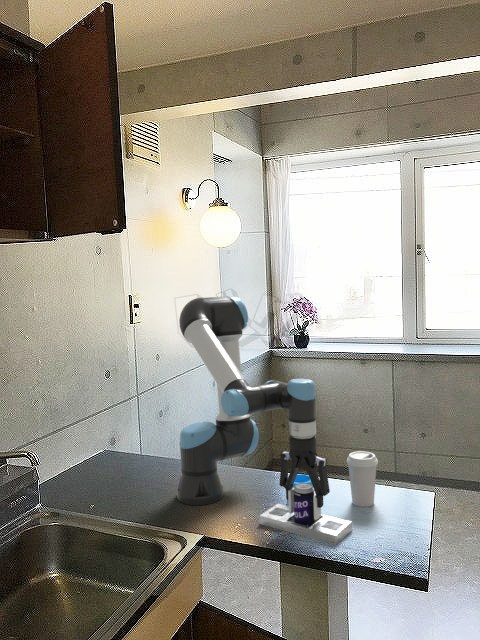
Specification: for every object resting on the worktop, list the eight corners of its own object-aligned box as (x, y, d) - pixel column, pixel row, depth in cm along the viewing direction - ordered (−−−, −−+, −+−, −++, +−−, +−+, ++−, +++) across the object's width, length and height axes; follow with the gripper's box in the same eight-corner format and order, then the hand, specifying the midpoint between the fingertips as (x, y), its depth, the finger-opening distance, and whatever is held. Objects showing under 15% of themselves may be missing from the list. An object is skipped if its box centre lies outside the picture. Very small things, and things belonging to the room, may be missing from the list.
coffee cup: (360, 511, 167) (359, 462, 166) (341, 500, 175) (339, 453, 174) (385, 504, 171) (384, 456, 170) (364, 494, 180) (364, 448, 178)
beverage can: (292, 523, 160) (291, 482, 159) (312, 522, 161) (310, 481, 160) (297, 532, 155) (295, 490, 154) (317, 530, 155) (316, 488, 154)
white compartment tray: (259, 524, 161) (259, 515, 161) (278, 511, 169) (278, 503, 169) (336, 545, 147) (335, 535, 147) (352, 530, 155) (351, 521, 155)
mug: (305, 512, 168) (304, 485, 167) (282, 506, 173) (281, 480, 172) (323, 498, 178) (323, 473, 177) (301, 493, 183) (300, 468, 182)
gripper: (264, 433, 159) (267, 511, 161) (329, 443, 147) (331, 528, 149) (278, 427, 165) (281, 502, 167) (341, 436, 153) (343, 517, 155)
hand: (304, 514), depth 158 cm, fingers open, 7 cm apart
